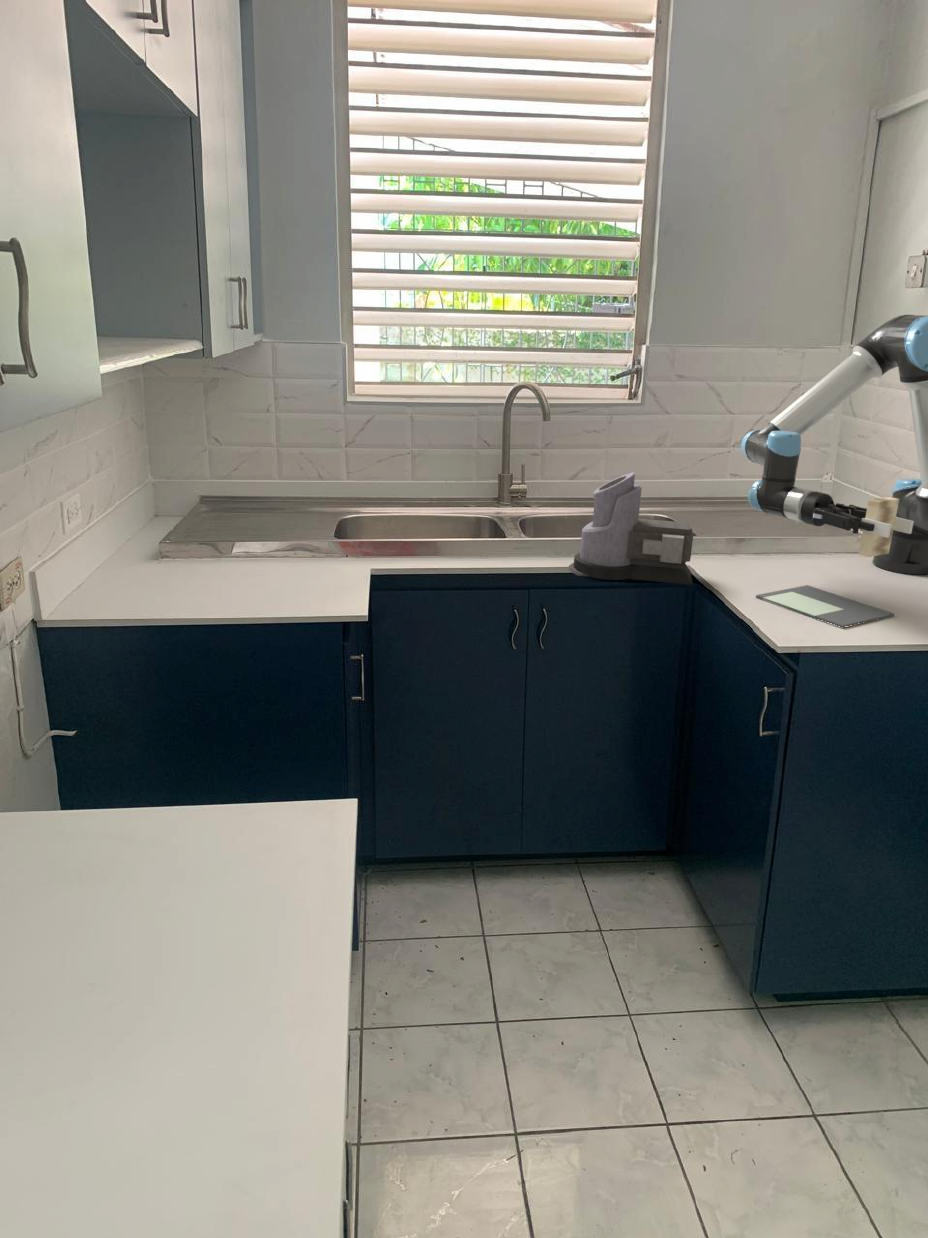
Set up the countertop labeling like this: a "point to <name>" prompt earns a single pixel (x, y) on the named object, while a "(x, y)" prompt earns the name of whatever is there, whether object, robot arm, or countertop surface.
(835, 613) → the mat
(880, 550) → the kitchen sponge
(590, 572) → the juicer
